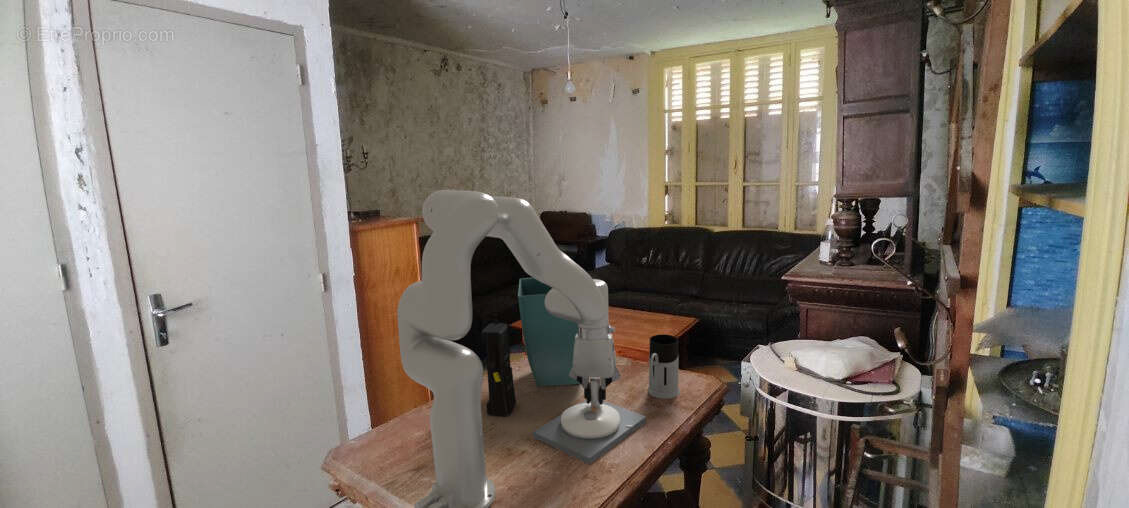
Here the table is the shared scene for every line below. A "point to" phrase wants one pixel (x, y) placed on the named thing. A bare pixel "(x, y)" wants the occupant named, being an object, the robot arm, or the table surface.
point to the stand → (588, 447)
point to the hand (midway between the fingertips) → (595, 400)
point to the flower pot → (545, 336)
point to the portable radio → (499, 369)
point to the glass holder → (663, 367)
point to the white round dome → (591, 417)
